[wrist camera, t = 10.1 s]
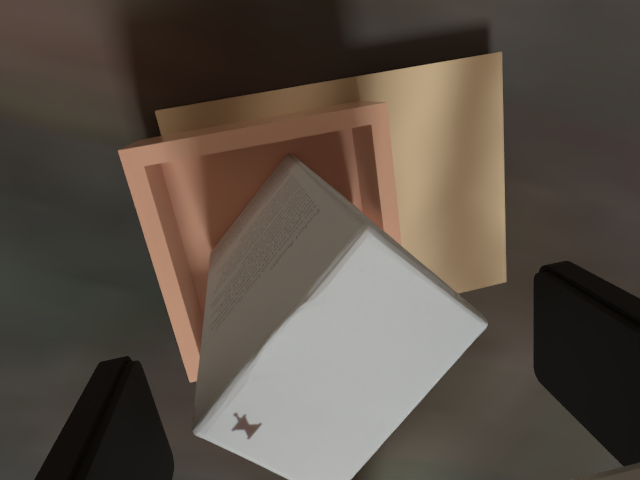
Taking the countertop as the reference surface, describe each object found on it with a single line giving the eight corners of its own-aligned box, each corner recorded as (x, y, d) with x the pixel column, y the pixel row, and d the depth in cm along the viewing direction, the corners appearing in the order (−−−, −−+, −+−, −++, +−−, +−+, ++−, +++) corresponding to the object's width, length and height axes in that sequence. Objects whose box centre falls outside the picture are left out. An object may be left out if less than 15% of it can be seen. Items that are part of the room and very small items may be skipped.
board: (488, 53, 22) (501, 51, 21) (494, 273, 26) (506, 281, 25) (158, 109, 20) (154, 110, 19) (220, 338, 24) (220, 350, 23)
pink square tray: (360, 100, 20) (386, 102, 17) (383, 293, 24) (410, 328, 20) (138, 139, 19) (118, 150, 16) (196, 337, 23) (189, 382, 19)
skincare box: (280, 299, 22) (330, 510, 11) (208, 251, 21) (179, 438, 10) (359, 203, 21) (499, 325, 10) (289, 147, 20) (362, 217, 9)
